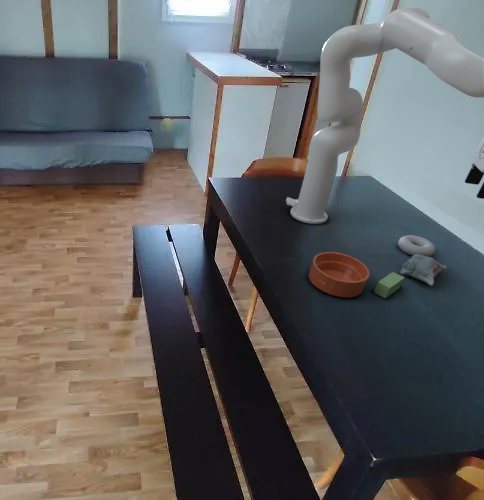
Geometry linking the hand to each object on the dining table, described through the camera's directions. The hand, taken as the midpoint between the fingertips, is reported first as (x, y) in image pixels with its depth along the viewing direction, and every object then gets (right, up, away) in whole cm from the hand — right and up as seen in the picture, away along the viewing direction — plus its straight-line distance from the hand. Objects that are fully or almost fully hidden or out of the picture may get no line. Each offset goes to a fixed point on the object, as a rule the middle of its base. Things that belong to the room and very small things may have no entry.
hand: (477, 190), depth 104 cm
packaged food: (-6, -23, +13) cm, 27 cm away
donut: (0, -16, +24) cm, 29 cm away
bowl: (-32, -24, +9) cm, 41 cm away
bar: (-19, -26, +6) cm, 33 cm away
